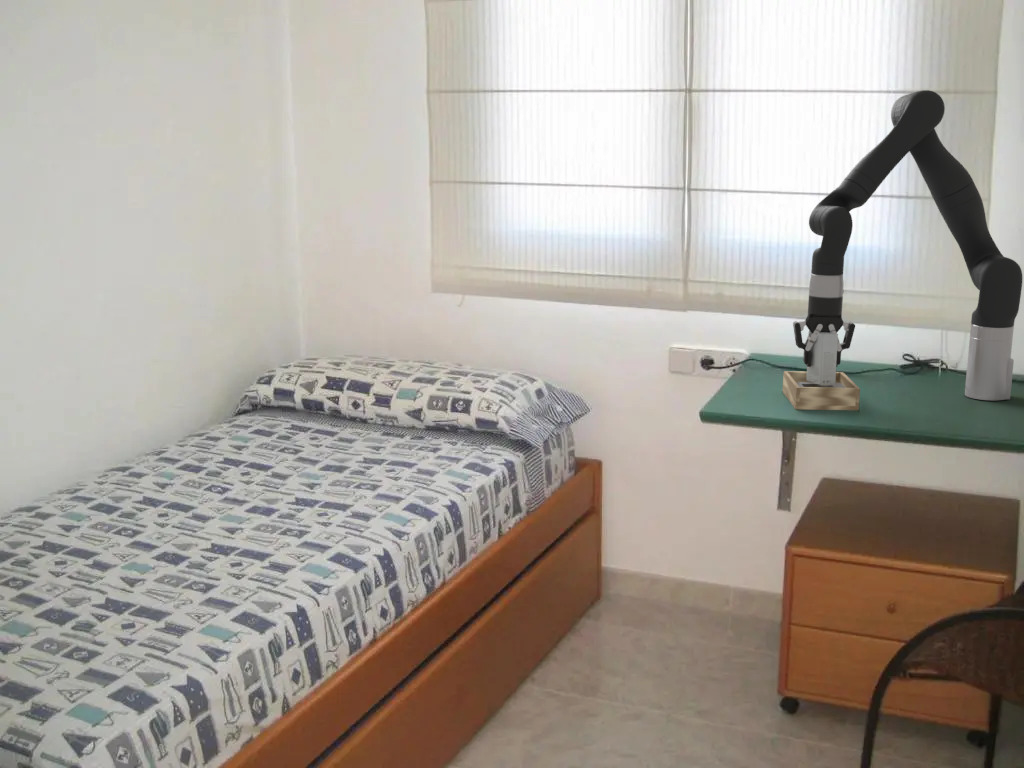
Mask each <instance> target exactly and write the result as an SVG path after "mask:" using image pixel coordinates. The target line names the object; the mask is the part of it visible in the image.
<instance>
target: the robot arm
mask: <svg viewBox="0 0 1024 768" xmlns="http://www.w3.org/2000/svg"><path fill="white" fill-rule="evenodd" d="M945 109H946V107H945V103H944V100H943V98H942V96H941V95H940V94H938V93H937V92H936V91H932V90H928V89H926V90H925V89H924V90H917V91H915V92H912V93H908V94H905V95H902V96H900V97H899V98H898V99H896V100H895V101H894V103H893V105H892V107H891V111H890V119H891V122H892V126H893V127H892V129H891V130H890V132H889V133H888V134H887V135H886V136H885V137H884V138H883V139H882V140H881V141H880V142H879V143H878V144H876V146H874V148H872V149H871V150H870V151H868V152H867V154H865V155H864V156H863V157H862V158H861V159H860V160H859V161H858V162H857V163H856V164H855V166H854V167H853V168H852V169H851V170H850V172H848V174H847V175H846V176H845V177H844V179H843V180H842V181H841V183H840V184H839V186H837V187H836V188H835V189H834V190H832V191H831V192H830V193H829V194H828V195H826V196H825V197H824V198H823V199H822V200H821V201H819V202H818V203H817V204H816V206H815V207H814V208H813V210H812V211H811V212H810V213H811V214H810V215H809V218H808V226H809V229H810V231H811V232H812V233H813V234H815V235H817V236H821V237H822V240H821V242H820V244H821V245H820V246H819V247H818V248H816V249H815V250H814V251H813V253H812V256H811V257H812V258H811V259H812V260H811V269H810V271H811V273H810V279H809V285H808V287H809V288H808V303H807V305H808V306H807V316H806V318H805V320H801V321H797V320H794V321H793V323H792V326H793V333H794V334H793V335H794V338H795V339H794V340H795V341H794V342H795V345H796V346H797V348H798V349H802V350H803V357H802V359H803V364H804V365H805V367H806V368H807V367H810V366H811V351H810V349H811V347H812V345H813V343H814V342H815V341H816V339H817V337H818V334H819V333H820V332H827V333H835V334H838V332H839V331H840V330H841V328H842V327H843V330H844V333H845V334H844V337H843V340H842V342H841V343H840V339H839V338H838V342H837V361H836V368H838V365H840V364H841V359H842V352H843V350H848V349H850V347H851V343H852V341H853V336H854V332H855V329H856V324H855V323H854V322H852V321H844V320H843V317H842V314H843V300H844V292H845V290H844V264H845V255H846V252H847V250H848V246H849V243H850V239H851V237H852V232H853V218H852V214H851V213H850V212H851V211H852V210H854V209H857V208H860V207H863V206H864V205H865V204H866V203H867V202H868V200H869V199H870V198H871V197H872V196H873V195H874V193H876V191H877V189H878V188H879V187H880V186H881V184H882V183H883V182H884V180H885V179H886V178H887V177H888V175H890V173H891V172H892V171H893V170H894V168H895V167H896V166H897V165H898V164H899V163H900V161H902V160H903V158H905V156H906V155H908V153H910V155H911V156H912V159H913V160H914V162H915V163H916V165H917V168H918V170H919V171H920V174H921V176H922V178H923V180H924V182H925V185H926V186H927V188H928V190H929V192H930V194H931V197H932V199H933V202H934V203H935V204H936V206H937V209H938V212H939V214H940V215H941V216H942V218H943V220H944V222H945V224H946V226H947V227H948V230H949V231H950V233H951V235H952V236H953V238H954V240H955V241H956V243H957V244H958V247H959V249H960V252H961V253H962V256H963V260H964V262H965V266H966V268H967V270H968V273H969V276H970V279H971V282H972V283H973V285H974V286H975V288H976V289H977V290H978V291H979V294H978V300H977V301H978V302H977V307H976V308H975V310H973V312H972V314H971V321H970V329H969V330H970V331H969V341H968V342H969V343H968V344H969V345H968V351H967V352H968V353H967V354H968V355H967V364H966V365H967V366H966V375H965V376H966V377H965V385H964V396H966V397H967V398H971V399H975V400H981V401H1005V400H1011V391H1012V381H1013V373H1014V372H1013V371H1014V364H1015V363H1014V359H1013V358H1012V347H1013V338H1014V329H1015V328H1014V327H1015V321H1016V320H1015V319H1016V317H1017V315H1018V314H1019V310H1020V304H1021V296H1022V289H1023V288H1022V287H1023V272H1022V268H1021V266H1020V264H1019V263H1018V262H1017V261H1016V260H1014V259H1012V258H1010V257H1007V256H1004V255H1003V254H1002V253H1001V251H1000V250H999V248H998V246H997V244H996V243H995V241H994V239H993V237H992V235H991V233H990V230H989V227H988V224H987V218H986V212H985V206H984V202H983V200H982V196H981V194H980V192H979V190H978V187H977V186H976V184H975V182H974V180H973V178H972V176H971V174H970V173H969V171H968V170H967V168H965V167H964V165H963V164H962V163H961V162H960V161H959V160H958V159H956V157H955V156H954V155H953V154H951V152H950V151H949V150H948V149H947V148H946V147H945V146H944V144H943V143H942V141H941V140H940V138H939V136H938V133H937V131H936V129H935V128H936V127H937V126H938V125H939V124H940V123H941V122H942V120H943V118H944V115H945ZM805 326H806V328H807V329H808V331H810V332H811V333H812V336H810V333H809V332H808V334H809V335H807V337H806V340H805V342H803V337H802V336H803V335H802V332H803V331H804V329H805Z"/></svg>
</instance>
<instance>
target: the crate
mask: <svg viewBox="0 0 1024 768" xmlns="http://www.w3.org/2000/svg"><path fill="white" fill-rule="evenodd" d="M806 379H807V371H799V370H797V371H796V370H795V371H790V370H787V371H786V370H784V371H783V377H782V393H783V395H784V396H785V397H786V398H787V400H788V401H789V403H790V404H791V405H792V407H793V408H794V410H816V411H817V410H820V411H860V410H859V408H860V393H861V388H860V387H859V386H858V385H857V384H856V383H855V382H854V381H853V380H852V379H851V378H850V377H849V376H848V375H846V373H845V372H843V371H842V372H841V371H836V379H835V385H828V386H821V385H818V384H815V383H812V382H809V381H807V380H806Z"/></svg>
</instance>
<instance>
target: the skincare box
mask: <svg viewBox="0 0 1024 768" xmlns="http://www.w3.org/2000/svg"><path fill="white" fill-rule="evenodd" d="M809 333H810V336H812V333H811V332H810V330H808V335H809ZM808 335H807V336H808ZM838 339H839V334H838V333H837V334H835V333H827V332H820V333H819V334H818V337H817V339H816V341H815V342H814V343H813V345H812V347H811V349H810V351H811V366H810V367H807V366H806V372H807V379H806V380H807V381H809V382H812V383H815V384H818V385H821V386H828V385H835V379H836V372H837V367H836V361H837V342H838Z"/></svg>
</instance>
